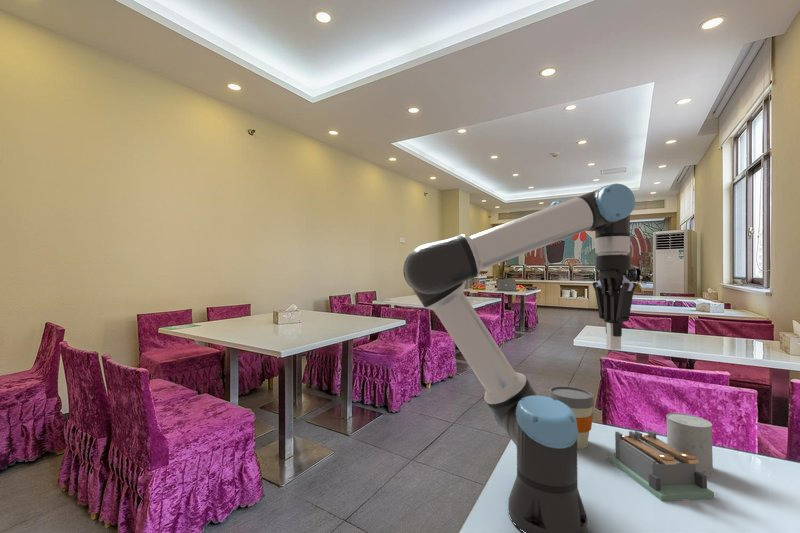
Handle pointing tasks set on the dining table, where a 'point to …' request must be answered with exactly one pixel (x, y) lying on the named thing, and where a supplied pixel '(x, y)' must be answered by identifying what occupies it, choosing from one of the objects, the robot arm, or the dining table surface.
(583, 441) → the reusable coffee cup
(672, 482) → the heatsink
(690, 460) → the strap
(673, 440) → the gray concrete cylinder
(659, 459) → the strap
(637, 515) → the dining table surface
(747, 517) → the dining table surface
